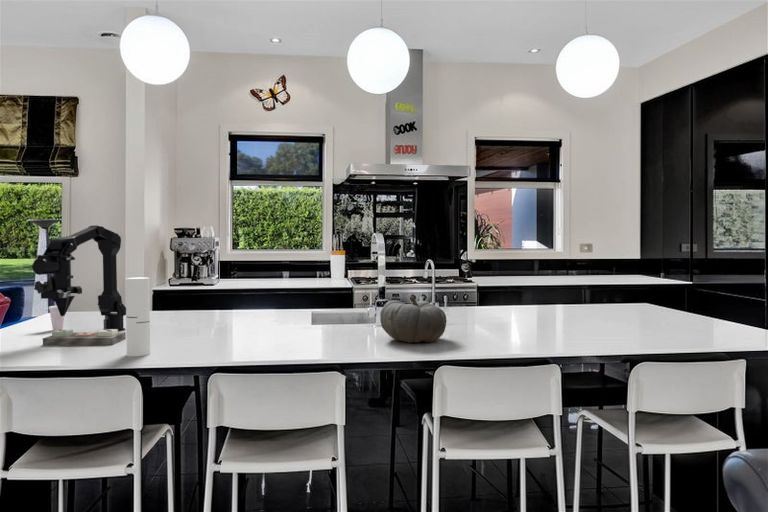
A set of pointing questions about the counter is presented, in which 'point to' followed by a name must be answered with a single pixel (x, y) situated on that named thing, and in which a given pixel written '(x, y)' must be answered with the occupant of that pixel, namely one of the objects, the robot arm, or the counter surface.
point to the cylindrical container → (138, 316)
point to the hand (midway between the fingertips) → (62, 315)
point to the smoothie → (56, 318)
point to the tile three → (108, 332)
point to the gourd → (413, 321)
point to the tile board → (84, 340)
